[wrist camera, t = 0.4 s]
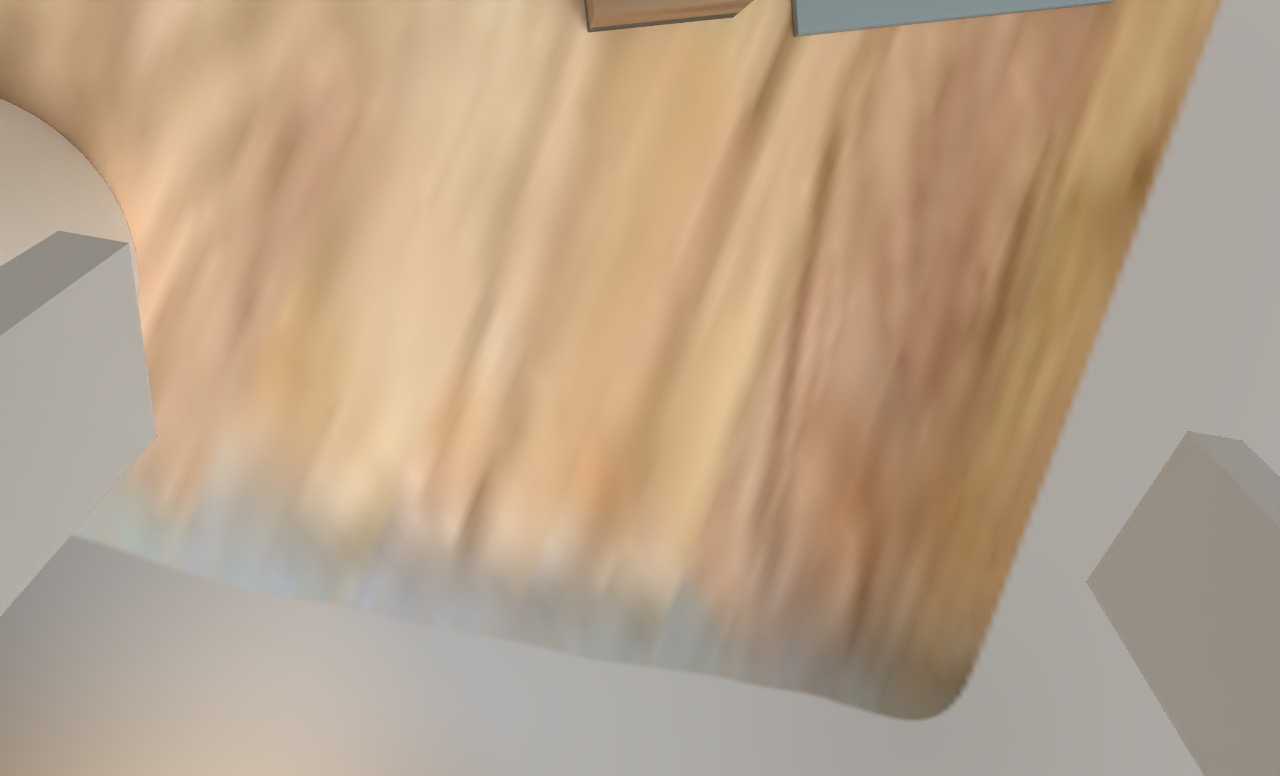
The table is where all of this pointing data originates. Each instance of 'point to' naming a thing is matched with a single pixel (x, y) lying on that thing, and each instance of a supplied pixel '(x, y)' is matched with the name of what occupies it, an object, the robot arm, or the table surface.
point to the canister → (51, 189)
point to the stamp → (656, 12)
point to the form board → (906, 12)
